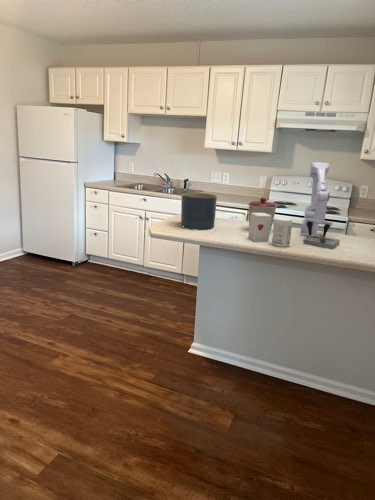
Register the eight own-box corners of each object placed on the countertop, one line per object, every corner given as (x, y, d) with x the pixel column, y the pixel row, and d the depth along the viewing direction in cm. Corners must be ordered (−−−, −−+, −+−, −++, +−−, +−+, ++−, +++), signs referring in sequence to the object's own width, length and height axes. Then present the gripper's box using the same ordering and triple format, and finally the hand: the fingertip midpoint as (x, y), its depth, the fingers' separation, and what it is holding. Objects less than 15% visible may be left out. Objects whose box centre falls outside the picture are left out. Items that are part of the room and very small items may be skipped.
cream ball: (317, 237, 214) (318, 231, 214) (319, 236, 217) (320, 230, 216) (323, 237, 213) (324, 232, 212) (324, 237, 215) (325, 231, 214)
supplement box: (254, 241, 207) (257, 215, 203) (247, 237, 215) (250, 212, 211) (269, 241, 209) (272, 215, 205) (262, 237, 217) (264, 212, 213)
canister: (272, 228, 243) (276, 196, 237) (276, 234, 226) (280, 200, 220) (244, 226, 245) (247, 194, 239) (246, 232, 227) (249, 198, 222)
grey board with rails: (303, 243, 208) (303, 238, 207) (310, 238, 220) (311, 233, 219) (332, 249, 199) (333, 243, 198) (339, 243, 211) (339, 238, 210)
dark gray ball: (318, 242, 202) (319, 236, 201) (320, 241, 205) (321, 235, 204) (324, 243, 200) (325, 237, 199) (326, 242, 203) (327, 236, 202)
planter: (175, 223, 243) (176, 192, 238) (204, 222, 253) (206, 192, 247) (189, 231, 224) (190, 198, 219) (220, 229, 233) (223, 197, 228)
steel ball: (309, 238, 211) (310, 232, 210) (311, 237, 213) (311, 231, 213) (315, 239, 209) (315, 233, 208) (316, 238, 212) (317, 232, 211)
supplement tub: (284, 242, 209) (287, 216, 205) (292, 247, 200) (296, 220, 196) (268, 242, 206) (271, 216, 202) (276, 247, 197) (279, 220, 193)
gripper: (305, 211, 207) (301, 235, 211) (331, 215, 199) (328, 239, 203) (308, 210, 212) (305, 233, 216) (335, 213, 205) (331, 237, 209)
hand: (316, 236), depth 210 cm, fingers open, 7 cm apart
